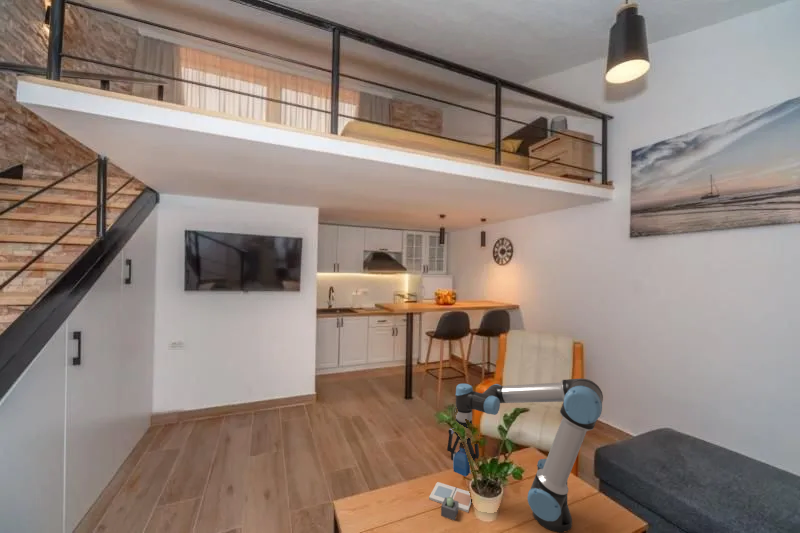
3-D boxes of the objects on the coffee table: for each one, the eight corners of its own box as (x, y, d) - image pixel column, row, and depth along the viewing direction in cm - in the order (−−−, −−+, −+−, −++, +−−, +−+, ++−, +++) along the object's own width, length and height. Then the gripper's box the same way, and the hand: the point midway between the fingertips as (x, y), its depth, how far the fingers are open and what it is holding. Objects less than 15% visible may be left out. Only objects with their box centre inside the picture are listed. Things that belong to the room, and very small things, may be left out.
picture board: (473, 495, 148) (473, 492, 148) (468, 512, 137) (468, 509, 137) (437, 483, 155) (437, 481, 155) (429, 499, 144) (429, 496, 144)
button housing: (458, 511, 138) (458, 501, 138) (454, 520, 132) (454, 510, 132) (445, 506, 140) (445, 497, 140) (441, 515, 135) (441, 506, 135)
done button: (453, 507, 137) (454, 498, 137) (452, 511, 134) (452, 502, 134) (447, 505, 138) (447, 496, 138) (445, 509, 135) (446, 500, 136)
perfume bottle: (466, 476, 140) (466, 449, 140) (453, 471, 144) (454, 444, 144) (471, 470, 145) (472, 443, 145) (459, 465, 149) (460, 439, 149)
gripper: (487, 420, 144) (486, 471, 143) (445, 411, 152) (444, 459, 152) (484, 427, 137) (483, 480, 137) (440, 417, 146) (439, 468, 145)
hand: (462, 469), depth 144 cm, fingers closed on perfume bottle, 7 cm apart
